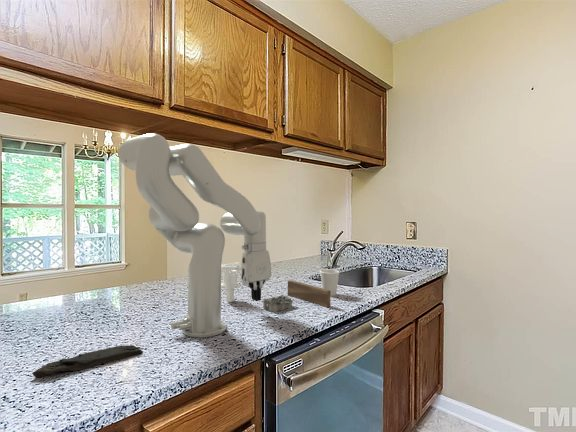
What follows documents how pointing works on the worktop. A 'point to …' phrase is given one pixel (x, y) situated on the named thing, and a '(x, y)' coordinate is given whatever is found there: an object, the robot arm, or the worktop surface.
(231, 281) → the white plastic bottle
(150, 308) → the worktop surface
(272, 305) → the egg carton
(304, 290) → the walnut board
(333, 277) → the dixie cup
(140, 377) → the worktop surface
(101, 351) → the wood
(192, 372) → the worktop surface
